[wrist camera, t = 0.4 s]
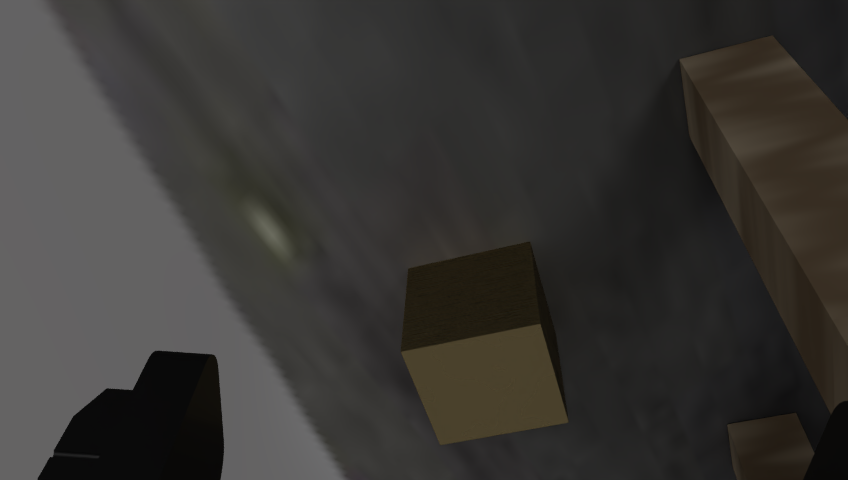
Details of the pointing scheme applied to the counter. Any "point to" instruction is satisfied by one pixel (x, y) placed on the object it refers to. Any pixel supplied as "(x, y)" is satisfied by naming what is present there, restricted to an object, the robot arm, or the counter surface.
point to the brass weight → (483, 345)
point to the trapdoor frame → (779, 218)
